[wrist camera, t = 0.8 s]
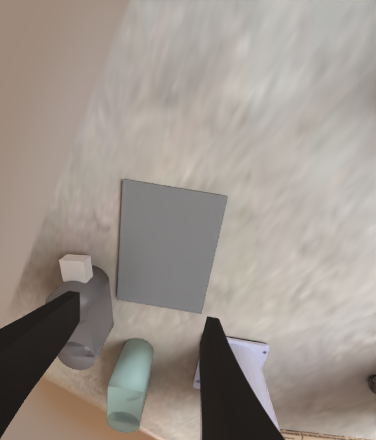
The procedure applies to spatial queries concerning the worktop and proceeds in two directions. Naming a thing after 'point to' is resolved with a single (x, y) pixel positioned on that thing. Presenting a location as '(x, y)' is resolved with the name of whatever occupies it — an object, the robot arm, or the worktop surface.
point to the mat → (167, 244)
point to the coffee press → (372, 383)
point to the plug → (85, 310)
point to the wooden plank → (312, 436)
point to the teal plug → (129, 386)
